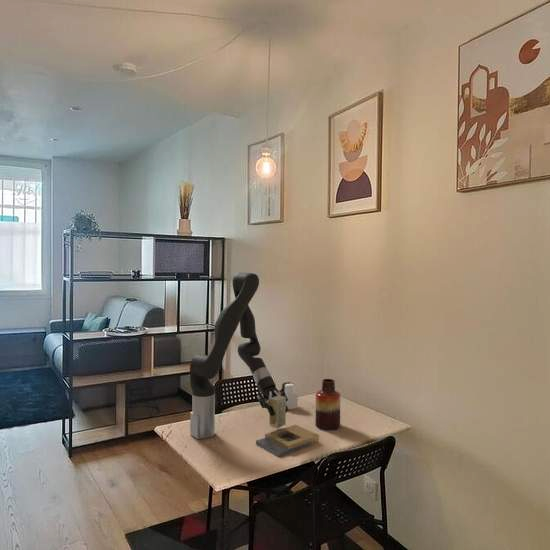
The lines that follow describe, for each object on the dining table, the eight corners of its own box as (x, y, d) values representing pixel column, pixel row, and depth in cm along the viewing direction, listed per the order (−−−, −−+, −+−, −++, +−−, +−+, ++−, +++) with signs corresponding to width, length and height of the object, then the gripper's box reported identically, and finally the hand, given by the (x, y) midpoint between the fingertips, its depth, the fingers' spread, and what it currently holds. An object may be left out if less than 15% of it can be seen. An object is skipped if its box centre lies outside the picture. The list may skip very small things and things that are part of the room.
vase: (328, 432, 188) (328, 385, 187) (310, 425, 196) (311, 379, 195) (345, 426, 195) (346, 381, 194) (327, 419, 203) (328, 375, 202)
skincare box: (278, 422, 194) (278, 394, 194) (285, 424, 191) (286, 396, 191) (268, 426, 189) (269, 397, 189) (276, 429, 186) (277, 400, 186)
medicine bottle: (278, 405, 221) (278, 382, 220) (291, 404, 224) (291, 380, 223) (284, 410, 214) (284, 386, 214) (297, 408, 217) (298, 384, 217)
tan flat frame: (278, 457, 165) (278, 449, 164) (255, 444, 175) (256, 436, 175) (318, 442, 178) (318, 435, 178) (295, 431, 189) (295, 424, 189)
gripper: (254, 377, 191) (271, 412, 182) (280, 373, 200) (297, 406, 191) (247, 387, 195) (262, 421, 186) (272, 382, 204) (288, 414, 196)
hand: (280, 413), depth 189 cm, fingers closed on skincare box, 6 cm apart
